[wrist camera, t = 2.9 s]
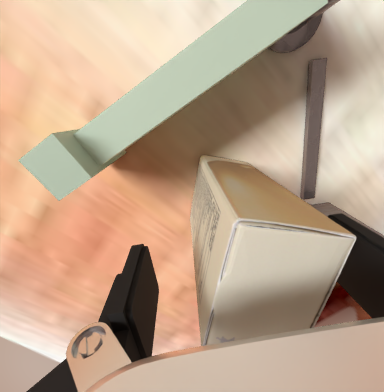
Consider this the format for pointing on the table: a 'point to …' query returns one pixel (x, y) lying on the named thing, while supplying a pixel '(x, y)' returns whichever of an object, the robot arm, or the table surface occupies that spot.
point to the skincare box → (259, 254)
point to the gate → (164, 93)
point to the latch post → (316, 137)
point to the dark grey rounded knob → (301, 32)
